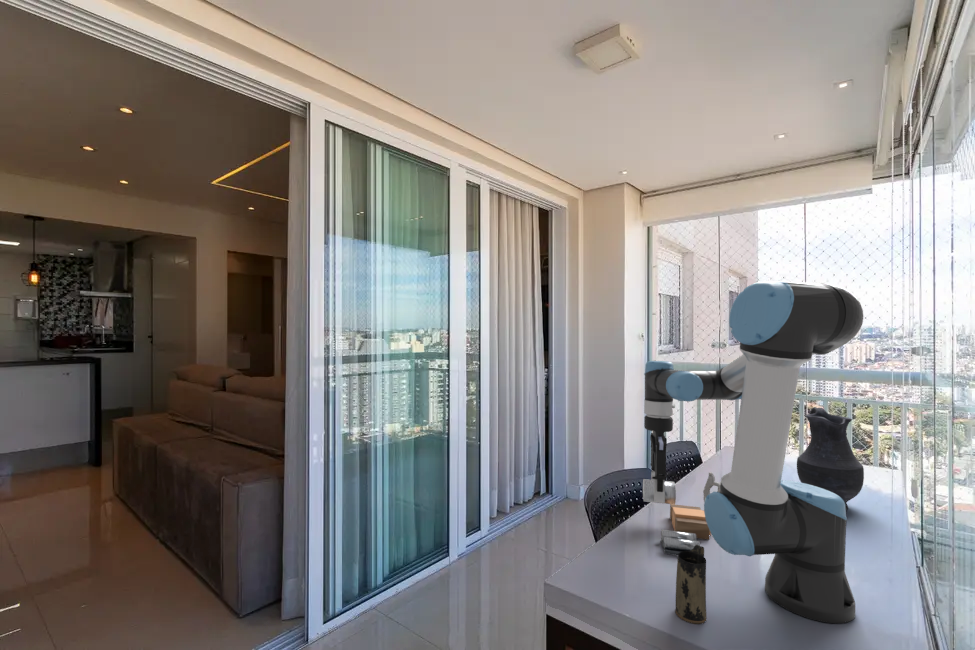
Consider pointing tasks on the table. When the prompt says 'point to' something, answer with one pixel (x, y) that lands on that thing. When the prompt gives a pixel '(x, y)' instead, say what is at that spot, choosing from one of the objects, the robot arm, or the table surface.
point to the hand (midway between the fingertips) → (657, 498)
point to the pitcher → (830, 457)
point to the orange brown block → (687, 514)
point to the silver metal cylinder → (649, 491)
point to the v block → (677, 541)
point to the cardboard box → (690, 524)
